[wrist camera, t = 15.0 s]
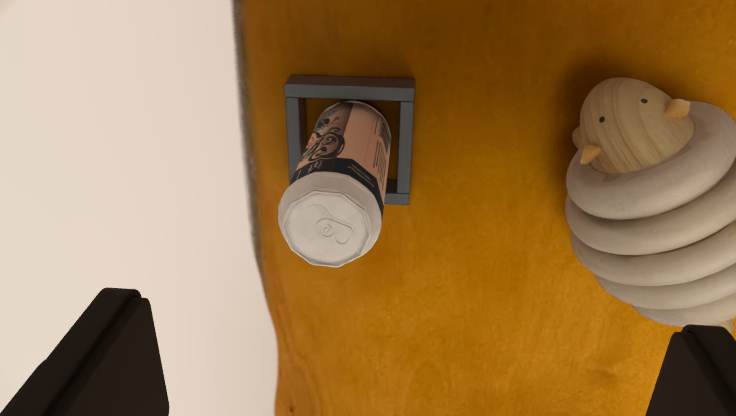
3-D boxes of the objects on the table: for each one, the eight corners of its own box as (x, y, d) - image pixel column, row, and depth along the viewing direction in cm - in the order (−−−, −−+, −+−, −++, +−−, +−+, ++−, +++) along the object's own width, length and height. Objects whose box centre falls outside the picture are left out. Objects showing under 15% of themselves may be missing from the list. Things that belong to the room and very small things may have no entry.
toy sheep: (660, 4, 32) (765, 51, 23) (777, 229, 38) (902, 345, 28) (491, 113, 36) (518, 194, 26) (620, 304, 41) (683, 431, 32)
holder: (290, 74, 36) (284, 83, 34) (415, 78, 35) (414, 88, 34) (296, 186, 39) (290, 200, 37) (409, 191, 39) (409, 205, 37)
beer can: (330, 85, 36) (293, 164, 25) (403, 116, 36) (397, 206, 26) (304, 153, 38) (259, 253, 27) (373, 181, 39) (356, 289, 28)
